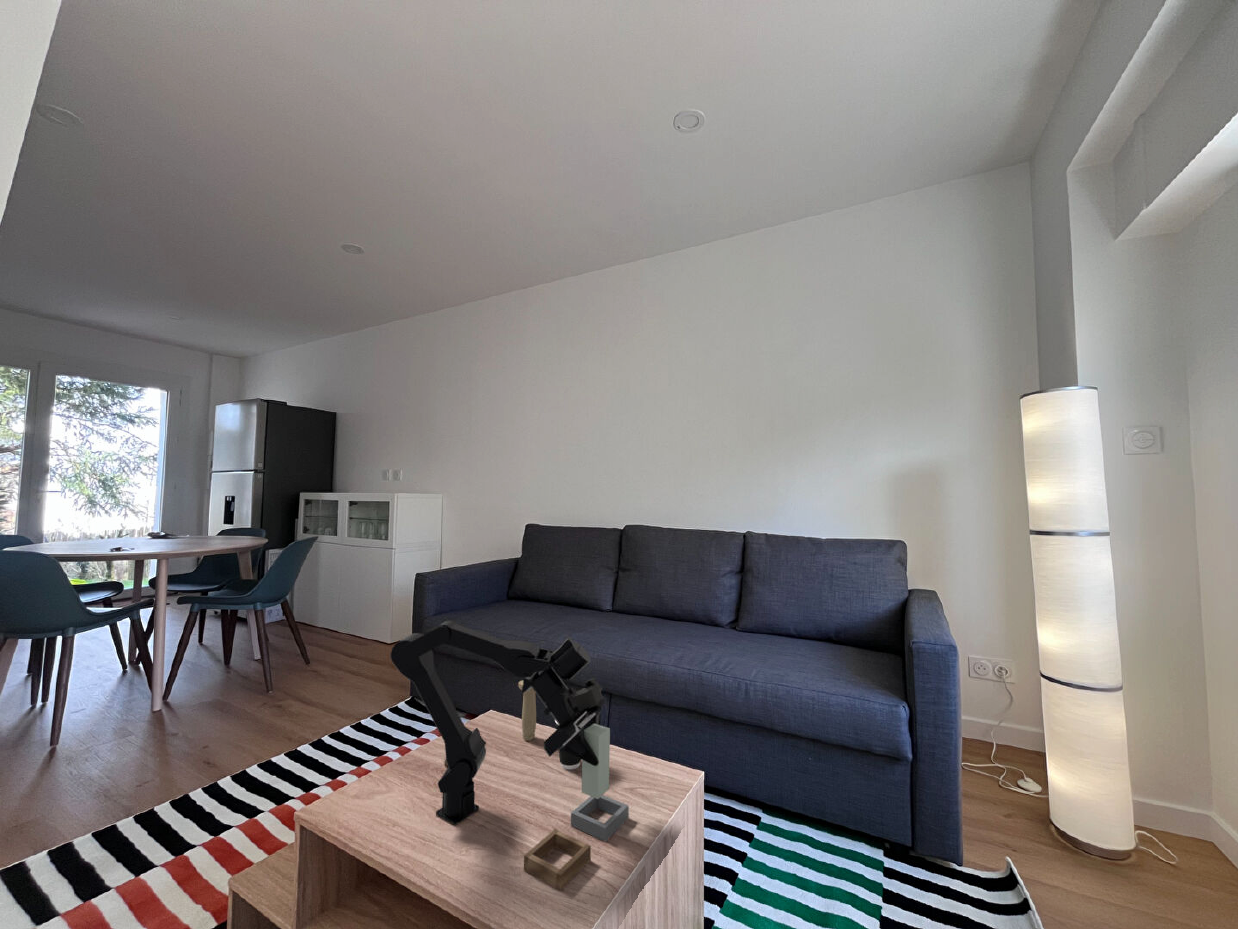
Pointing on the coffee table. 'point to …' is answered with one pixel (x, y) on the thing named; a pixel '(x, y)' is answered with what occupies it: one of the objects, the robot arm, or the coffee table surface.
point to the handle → (528, 713)
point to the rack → (550, 872)
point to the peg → (598, 776)
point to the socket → (596, 827)
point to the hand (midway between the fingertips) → (602, 758)
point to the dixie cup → (568, 758)
